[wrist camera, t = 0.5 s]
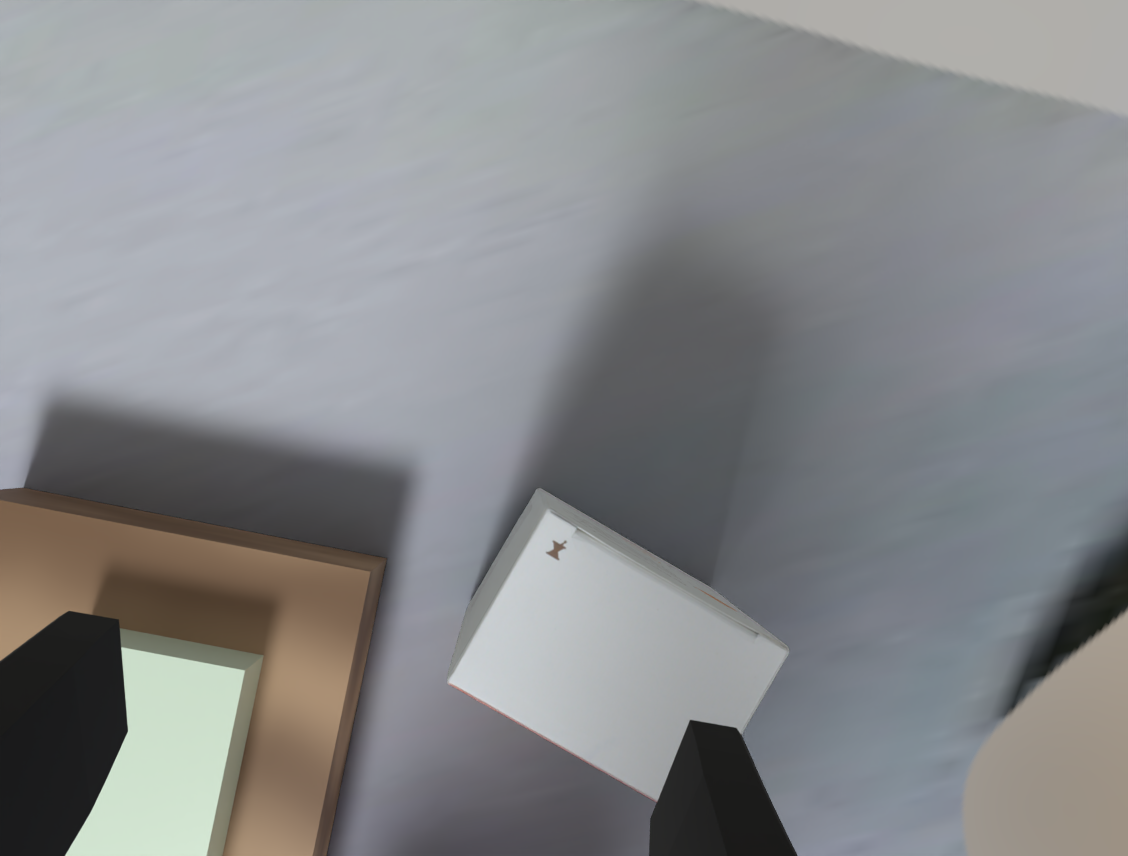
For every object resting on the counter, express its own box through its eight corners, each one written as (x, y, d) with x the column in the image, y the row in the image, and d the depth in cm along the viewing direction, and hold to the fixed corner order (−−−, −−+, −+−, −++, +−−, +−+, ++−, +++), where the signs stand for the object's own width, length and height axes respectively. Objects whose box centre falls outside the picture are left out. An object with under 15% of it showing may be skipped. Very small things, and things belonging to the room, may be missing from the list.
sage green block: (210, 915, 30) (187, 949, 28) (33, 884, 30) (-2, 916, 28) (263, 655, 30) (244, 670, 28) (89, 622, 30) (57, 635, 28)
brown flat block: (302, 972, 34) (276, 1033, 30) (-67, 906, 33) (-137, 961, 30) (386, 558, 34) (370, 571, 31) (22, 487, 34) (-37, 493, 30)
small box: (464, 608, 34) (435, 681, 24) (538, 482, 34) (542, 501, 24) (642, 711, 34) (691, 831, 24) (715, 587, 35) (795, 651, 24)
